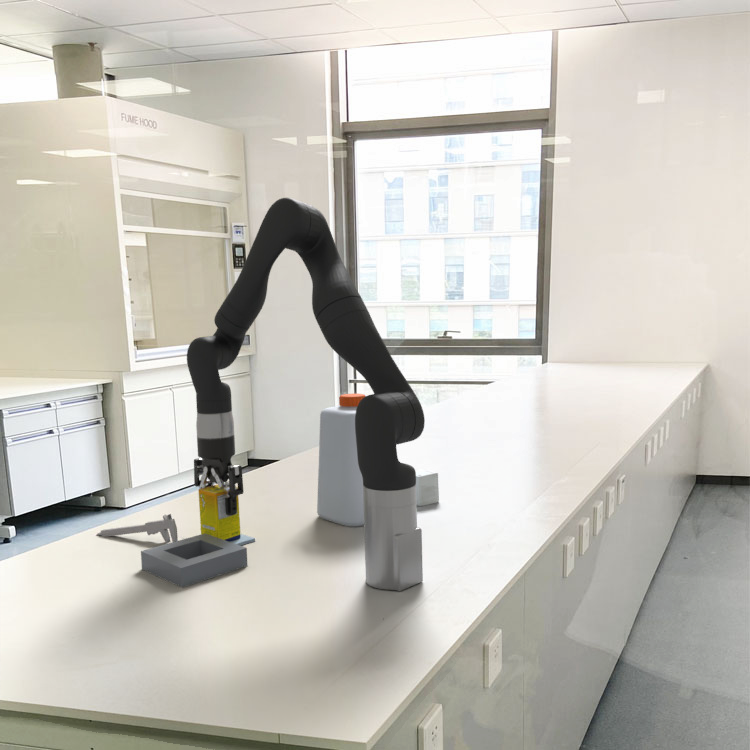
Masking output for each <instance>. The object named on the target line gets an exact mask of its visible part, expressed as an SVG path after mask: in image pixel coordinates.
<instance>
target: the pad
mask: <svg viewBox="0 0 750 750" xmlns="http://www.w3.org/2000/svg"><path fill="white" fill-rule="evenodd" d="M240 536H241V537H240V538H238V539H235V540H232V541H229V542H231V543H234V544H237V545H240V546H243V545H246V544H250V543H253V542H256V538H255V537H252V536H249V535H246V534H243V533H240Z"/></svg>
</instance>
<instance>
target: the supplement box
mask: <svg viewBox="0 0 750 750" xmlns="http://www.w3.org/2000/svg"><path fill="white" fill-rule="evenodd" d="M227 488H228V490H229V491H230V487H227ZM236 488H237V489H238V486H236ZM225 498H226V497H225V494H224V492H223V490H222V489H220V488H219V486H218V484H213V486H210V487H206V488H202V489H198V502H199V520H200V522H199V523H200V535H201V534H204V533H205V534H208V535H211V536H214V537H217V538H220V539H223V540H226V541H228V542H229V541H232V540H235V539H238V538H240V537H241V536H240V534H241V521H240V504H239V503H240V500H239V495H238V496H237V513H236V514H235V515H231V516H228V515H226V506H225Z"/></svg>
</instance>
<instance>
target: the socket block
mask: <svg viewBox="0 0 750 750" xmlns="http://www.w3.org/2000/svg"><path fill="white" fill-rule="evenodd" d="M140 559H141V570H143V571H145V572H147V573H149V574H152V575H154V576H155V577H158V578H161V579H162V580H165V581H167V582H169V583H172V584H174V585H176V586H178V587H180V588H184V587H185V588H186V587H188V586H191V585H194V584H197V583H200V582H203V581H206V580H209V579H211V578H215V577H217V576H222V575H224V574H228V573H230V572H234V571H237V570H239V569H242V568H245V567H248V548H247V547H245V546H243V545H241V546H240V545H237V544H234V543H231V542H228V541H226V540H223V539H220V538H217V537H214V536H211V535H208V534H205V533H204V534H201V533H200V534H199V535H194V536H192V537H187V538H183V539H180V540H178V541H176V542H173V541H172V542H169V543H164V544H162V545H159V546H155V547H150V548H148V549H143V550H141V551H140Z"/></svg>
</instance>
